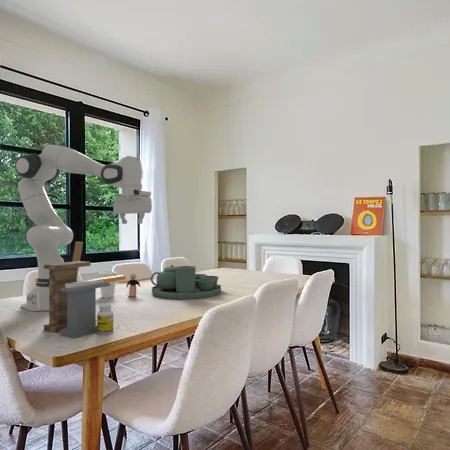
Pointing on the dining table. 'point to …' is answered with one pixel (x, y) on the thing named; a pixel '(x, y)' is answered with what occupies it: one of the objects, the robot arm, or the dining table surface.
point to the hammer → (77, 252)
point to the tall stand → (60, 292)
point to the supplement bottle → (105, 320)
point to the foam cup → (108, 290)
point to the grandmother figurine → (132, 285)
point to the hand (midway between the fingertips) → (132, 223)
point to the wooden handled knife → (94, 281)
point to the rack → (81, 310)
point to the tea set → (184, 284)
